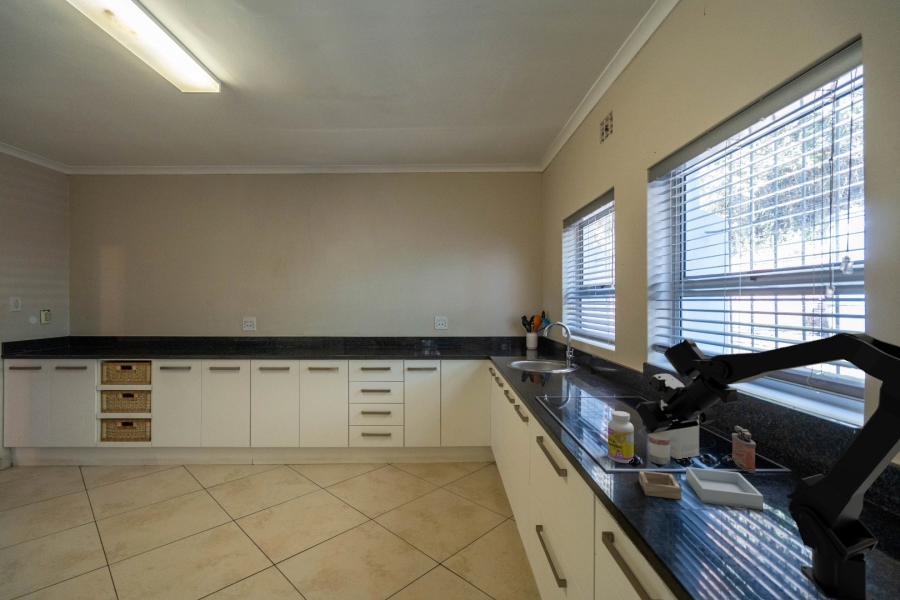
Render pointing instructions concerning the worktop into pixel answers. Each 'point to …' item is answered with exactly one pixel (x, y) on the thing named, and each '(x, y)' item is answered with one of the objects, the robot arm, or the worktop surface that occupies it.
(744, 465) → the lighter
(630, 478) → the worktop surface
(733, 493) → the tray
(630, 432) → the supplement bottle
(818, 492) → the robot arm
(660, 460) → the white domed canister
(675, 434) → the skincare box
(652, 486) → the holder
